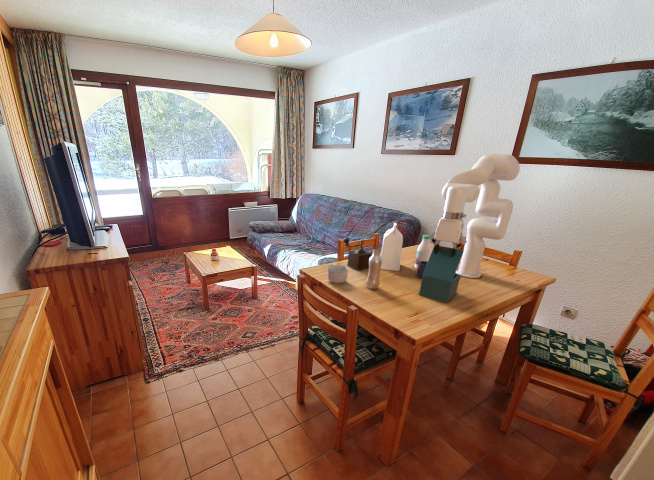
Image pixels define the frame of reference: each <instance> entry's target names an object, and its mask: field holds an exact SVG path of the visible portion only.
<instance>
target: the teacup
mask: <svg viewBox="0 0 654 480" xmlns="http://www.w3.org/2000/svg"><path fill="white" fill-rule="evenodd" d="M348 270H349V266H347V265H343V264H338V263H333V264H331V265H328V266H327V268H326V271H327V273H326V274H327V280H328V281H330V282H331V283H333V284H343V283H344V282H345V281H347V279H348V274H349V273H348V272H349V271H348Z"/></svg>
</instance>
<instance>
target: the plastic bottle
mask: <svg viewBox="0 0 654 480" xmlns="http://www.w3.org/2000/svg"><path fill="white" fill-rule="evenodd" d="M381 251H382V249H378V248H376V249H375V248H374V249H373V250H372V252H371V253H372V254H373V255H372V256H371V257H370V259H369V269H368V274H367V278H366V282H365V286H366V287H367V288H368V289H370V290H376V289H378V288H379V287H380V273H381V272H380V271H381V269H380V268H381V264H382V258H381Z"/></svg>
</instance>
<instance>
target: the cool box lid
mask: <svg viewBox="0 0 654 480" xmlns="http://www.w3.org/2000/svg"><path fill="white" fill-rule="evenodd" d="M434 247H435V245H434V244H433V247H432V252H431V255H430V258H429V260H428V263H427V265H426V268H425V271H424V273H423V276H427V277H431V278H435V279H439V280H443V281H447V282H451V283H452V280H453V278H454V275H455V273H456V270H457V269H458V268H459V266H460V263H461V259H462V255H463V252H464V249H459V248H457V250H456V254H455V256H453V257H452V258H451V257H450V255H451V250H452V249H453V247H450V246H449V247H448V246H443V245H440V246H439V247H438V250H439V251H438V253H437V254H434V253H435V252H434Z"/></svg>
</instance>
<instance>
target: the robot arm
mask: <svg viewBox="0 0 654 480" xmlns="http://www.w3.org/2000/svg"><path fill="white" fill-rule="evenodd" d="M520 169H521V166H520V162H519V161H518V159H517V158H516V157H515V156H514V155H513V154H508V153H506V154H505V153H489V154H484V155H482V156H481V157H480V158H479V159H478V160H477V161H476V162H475V164H474V165H473V166H472V167H471V168H470V169H467V170H465V171H462V172H460V173H458V174H455V175H453V176H452V177H451V178H449V179H448V181H447V182H446V183H445V185H443V188H442V190H441V197H442V198H443V200H445V201H444V202H445V203H444V206H443V211H442V216H441V217H440V218H439V220H438V223H437V226H436V229H435V231H434V232H433V233H431V234H429V235H430V236H429V238H430V239H431V240H430V241H431V242H432V243H433V248H434V252H435V253H434V254H437V253H438V251H439V250H438V247H439V246H441V245H440V243H441V241H442V242H446V243H451V244H452V248H453V249H452V250H451V255H450V257H451V258H452V257H453V256H455V254H456V250H457V249H459V248H460V247H462V246H463V245H464V246H463V250H464V252H463V254H462V257H461V260H460V262H459V266H458V268H457V269H458V270H456V274H460V275H461V276H460V277H464V278H469V279H478V278H481V276H482V273H481V272H480V269H482V265H481V263H482V260H483V256H484V253H485V249H486V242H485V240H484V239H490V240H497V241H498V240H502V239H503V238H504V237H505V236H506V233H507V229H508V226H509V223H510V220H511V217H512V214H513V209H514V202H513V201H512V200H511V199H507V198H499V196H500V192H501V185H500V182H499V181H507V182H509V181H510V182H511V181H513V180H516V178H517V177H518V175H519V174H520ZM479 186H480V187H479ZM476 200H477V202H476V206H475V214H476V215H477V216H482V217H488V218H495V219H497V220H495V219H488V218H480V217H475V218H471V219H470V220H469V222H468V223H467V227H466V238H465V237H464V235H463V233H464V223H465V221H464V220H465V218H467V214H465V212H464V210H465V205H466V203H473V202H475V201H476ZM460 241H461V242H460ZM434 245H435V247H434Z"/></svg>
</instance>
